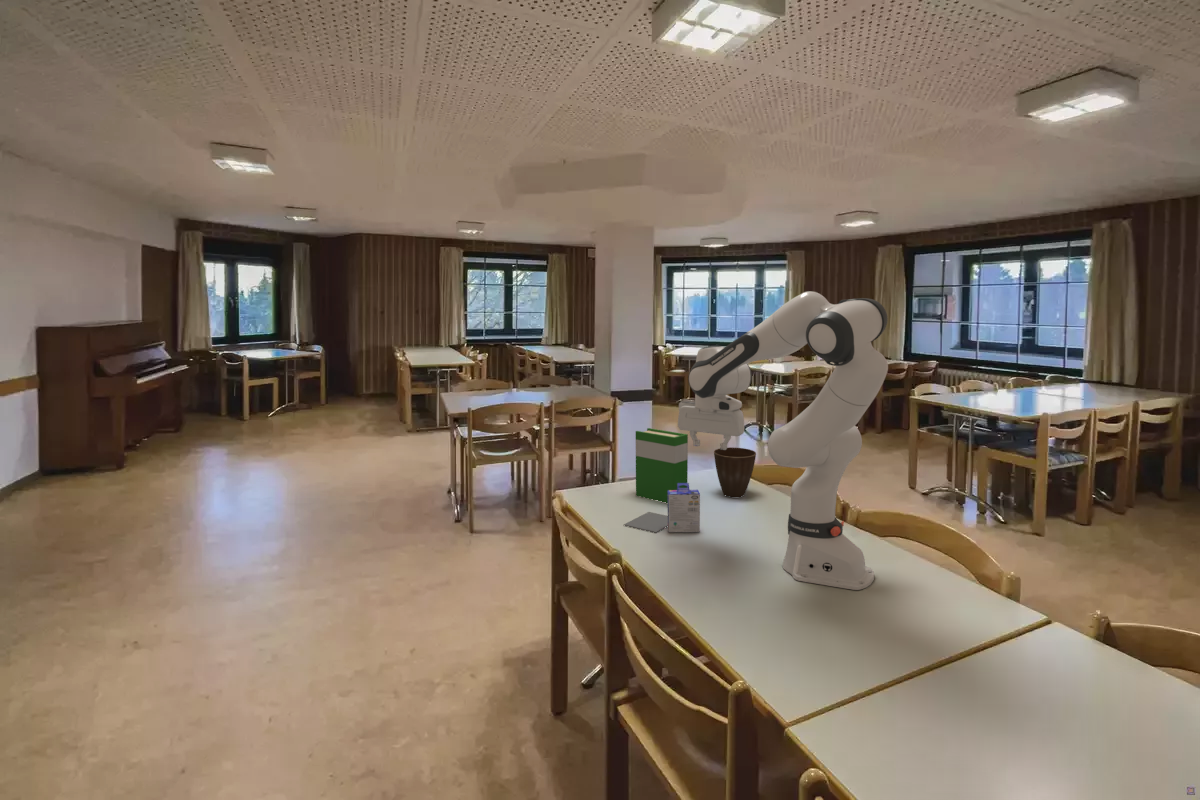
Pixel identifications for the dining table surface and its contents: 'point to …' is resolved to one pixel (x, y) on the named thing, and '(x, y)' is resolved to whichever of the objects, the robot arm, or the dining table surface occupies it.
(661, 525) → the mat
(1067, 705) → the dining table surface
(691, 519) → the ink cartridge box
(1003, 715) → the dining table surface
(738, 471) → the plant pot
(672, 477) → the hardback book
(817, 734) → the dining table surface
